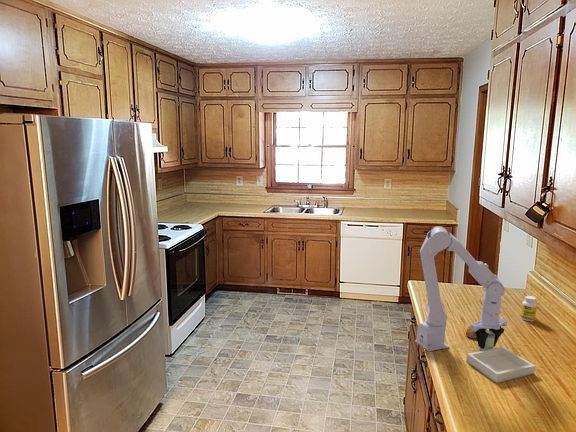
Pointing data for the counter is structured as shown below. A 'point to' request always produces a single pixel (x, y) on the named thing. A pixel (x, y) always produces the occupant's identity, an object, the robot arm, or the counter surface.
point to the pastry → (471, 333)
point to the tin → (489, 341)
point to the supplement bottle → (529, 308)
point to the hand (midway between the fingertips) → (486, 346)
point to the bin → (500, 364)
